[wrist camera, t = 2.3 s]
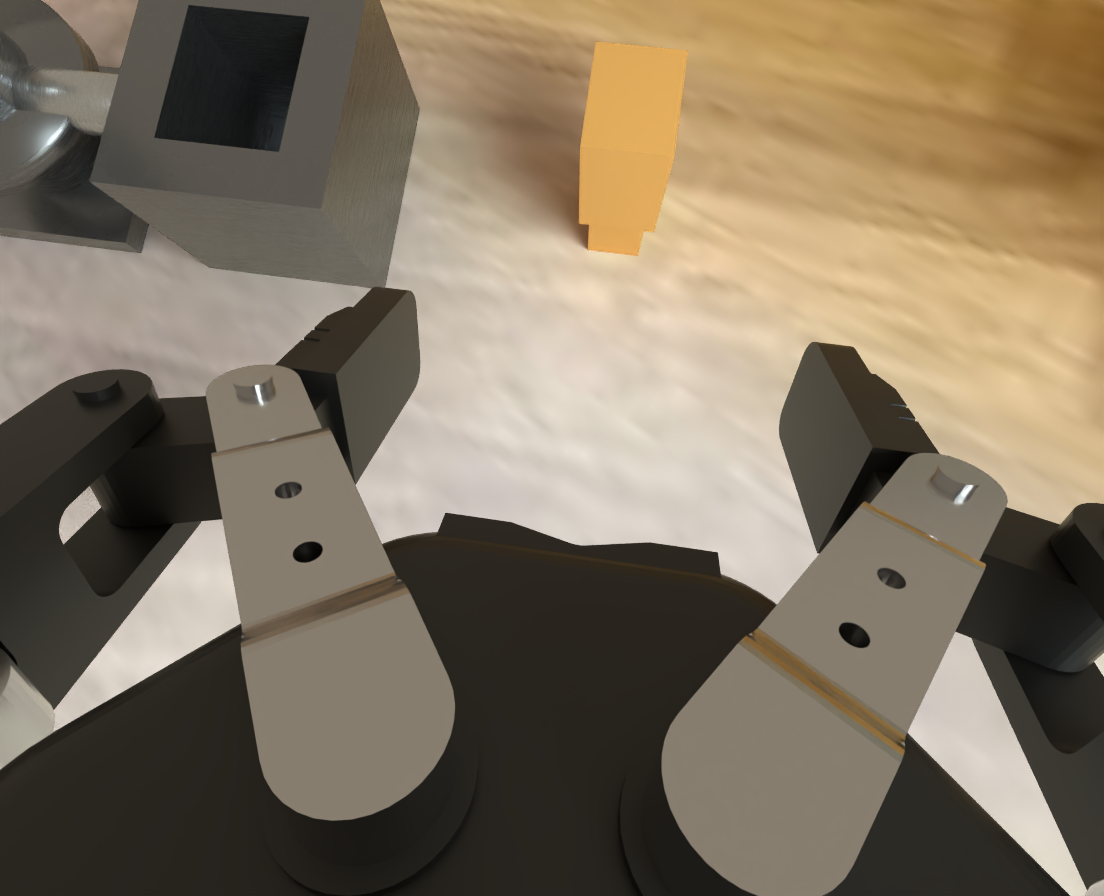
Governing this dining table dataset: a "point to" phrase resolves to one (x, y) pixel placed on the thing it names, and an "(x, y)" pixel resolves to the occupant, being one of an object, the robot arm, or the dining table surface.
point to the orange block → (628, 142)
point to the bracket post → (212, 134)
